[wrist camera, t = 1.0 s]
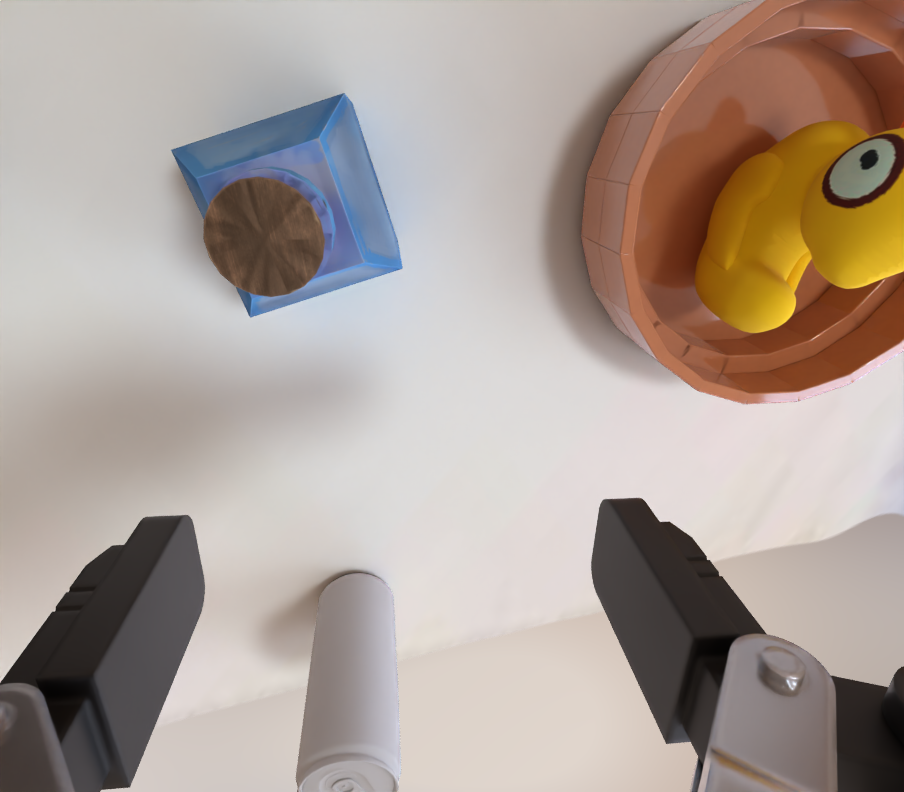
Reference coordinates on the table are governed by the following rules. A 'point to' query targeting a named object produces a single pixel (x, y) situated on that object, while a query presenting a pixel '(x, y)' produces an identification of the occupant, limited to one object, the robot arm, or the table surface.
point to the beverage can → (352, 692)
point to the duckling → (804, 222)
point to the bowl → (708, 170)
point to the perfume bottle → (291, 205)
